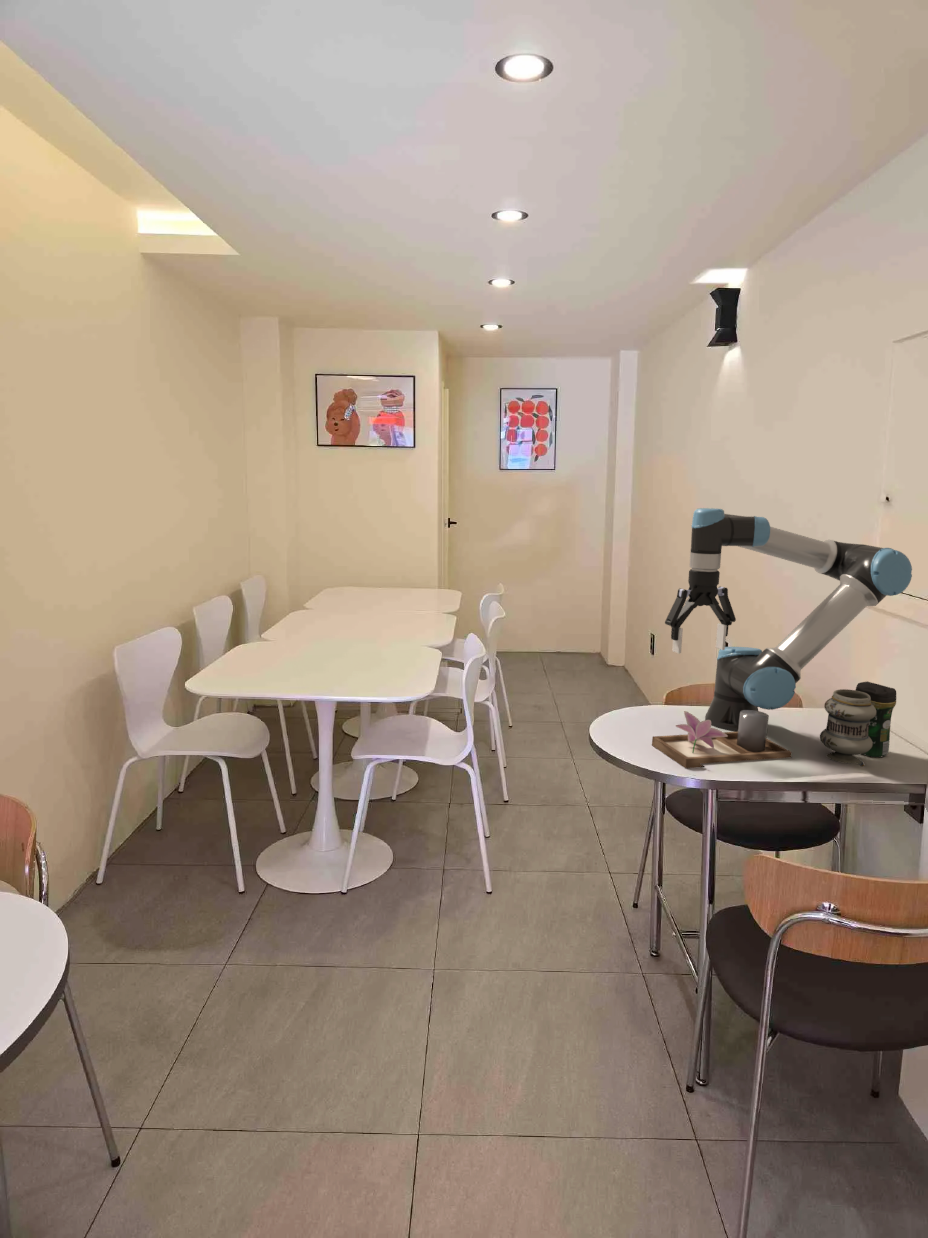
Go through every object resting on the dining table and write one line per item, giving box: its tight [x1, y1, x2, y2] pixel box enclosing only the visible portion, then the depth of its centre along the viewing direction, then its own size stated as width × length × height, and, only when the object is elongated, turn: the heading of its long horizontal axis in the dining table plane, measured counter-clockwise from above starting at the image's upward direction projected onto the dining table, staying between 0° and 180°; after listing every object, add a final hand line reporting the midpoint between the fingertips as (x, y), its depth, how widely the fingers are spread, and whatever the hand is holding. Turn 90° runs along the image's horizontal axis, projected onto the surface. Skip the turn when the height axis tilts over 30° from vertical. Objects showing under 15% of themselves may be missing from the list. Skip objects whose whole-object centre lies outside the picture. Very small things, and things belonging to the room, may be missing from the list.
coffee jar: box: [855, 680, 897, 758], centre depth 209 cm, size 10×8×19 cm
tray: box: [651, 731, 793, 769], centre depth 205 cm, size 30×16×2 cm, turn 106°
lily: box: [675, 710, 727, 753], centre depth 203 cm, size 12×12×10 cm
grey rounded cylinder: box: [737, 710, 769, 752], centre depth 206 cm, size 7×7×9 cm
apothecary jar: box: [819, 688, 876, 767], centre depth 201 cm, size 12×12×18 cm
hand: (698, 650), depth 207 cm, fingers open, 13 cm apart
